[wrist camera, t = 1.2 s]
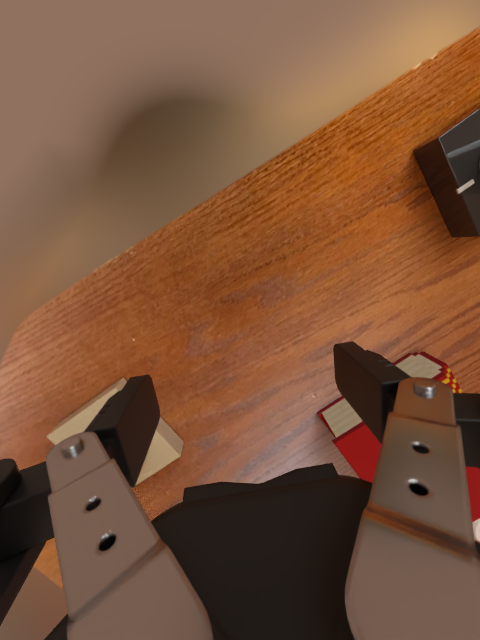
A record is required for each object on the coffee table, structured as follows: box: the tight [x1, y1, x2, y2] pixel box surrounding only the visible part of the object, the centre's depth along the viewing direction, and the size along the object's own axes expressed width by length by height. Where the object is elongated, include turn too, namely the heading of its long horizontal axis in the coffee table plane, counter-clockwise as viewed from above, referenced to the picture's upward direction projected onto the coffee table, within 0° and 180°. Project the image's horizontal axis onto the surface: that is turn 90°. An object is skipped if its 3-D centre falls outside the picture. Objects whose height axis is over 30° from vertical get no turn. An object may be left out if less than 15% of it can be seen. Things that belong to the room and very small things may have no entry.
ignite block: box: [46, 377, 184, 488], centre depth 28 cm, size 10×9×4 cm
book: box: [317, 352, 480, 522], centre depth 30 cm, size 18×13×5 cm
